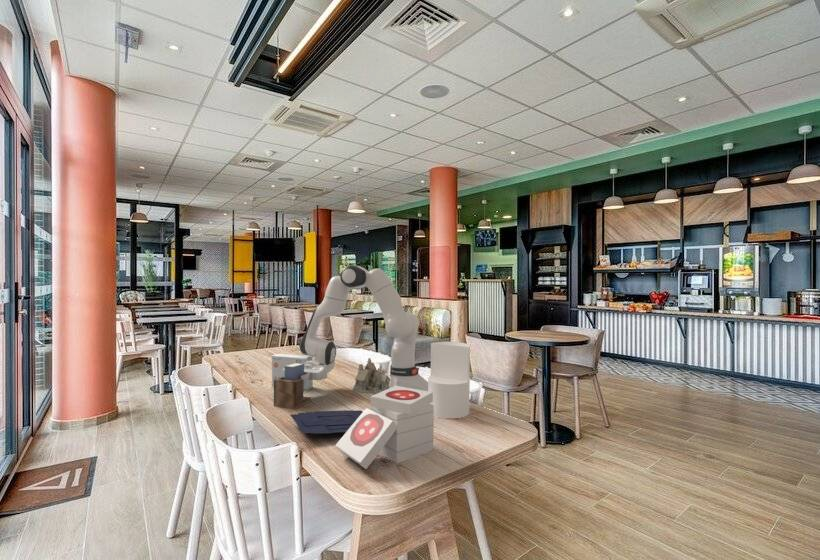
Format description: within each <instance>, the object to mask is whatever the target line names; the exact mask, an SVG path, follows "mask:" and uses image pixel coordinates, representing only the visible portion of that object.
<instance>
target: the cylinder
mask: <svg viewBox="0 0 820 560" xmlns="http://www.w3.org/2000/svg"><path fill="white" fill-rule="evenodd" d="M470 348H471V345H470V344H468V343H466V342H459V341H435V342H431V343H430V376H428V377H427V379H428V380H427V382H428V391H429V392H433V402H431V403H430V404H432V405H434V416H436V417H435V418H438V417H441V418H440V419H443V418H459V419H461V418H460V417H463V418H466V417H468V416H469V415H470V393H471V392H470V383H471V382H470V381H471V380H470V376H471V375H470V374H471V373H470V372H471V371H470V368H471V366H470V365H471V363H470V361H471V360H470V359H471V356H470V355H471V354H470V353H471V352H470V351H471V349H470ZM468 414H469V415H468ZM467 415H468V416H467ZM465 416H466V417H465Z"/></svg>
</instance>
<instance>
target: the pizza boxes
mask: <svg viewBox="0 0 820 560" xmlns="http://www.w3.org/2000/svg"><path fill="white" fill-rule="evenodd" d="M431 402H433V392H429V391H423V390H418V389H412V388H406V387H400V386H394V387H391V388H389V389H387V390H385V391H382V392H377V393H376V394H373V395H371V396H370V409H369V408H367V407H366V408H365V409H364V410H362V414H361V415H360V416H359V417H358V419H357V420H356V421H355V422H354V423H353V425H352V426H351V427H350V428H349V429H348V431H347V432H344V434H343V436H342V437H341V438H340V439H339V440H338V441H337V442H336V444H335V447H336V448H337V449H338V450H339V451H340V452H341V453H343V454H344V455H345V456H347V457H348V458H350V459H351V460H352V461H354V462H355V463H356V464H358V465H359V466H361V467H362V468H363V469H365V470H367V469H368V468H369V466H370V465H371V464H372V462H373V461H374V460H375V458H376V457H377V455H378V454H381V455H383V456H384V457H386V458H387V459H389V460H391V461H392V462H394V463H395V464H398V463H402V462H404V461H407V460H409V459H412V458H416V457H418V455H419V456H421V455H424V454H427V453H430V452H432V451H431V450H433V451H434V434H435V433H434V423H435V422H434V420H435V419H434V405H432V404H430V403H431ZM429 451H430V452H429ZM426 452H427V453H426Z"/></svg>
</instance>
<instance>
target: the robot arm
mask: <svg viewBox="0 0 820 560" xmlns="http://www.w3.org/2000/svg"><path fill="white" fill-rule="evenodd" d="M366 288H367V289H368V290H369V292H370V293H371V294H372V297H373V298H374V300H375V301H376V304H377V305H378V307H379V309H380V312H381V314H382V317H383V320H384V323H385V332H386V334H387V335H388V336H389V337H390V338H393V343H392V345H391V346H392V347H391V352H390V353H391V354H390V357H391V359H390V360H391V362H390V370H389V375H390V376H389V378H390V383H389V387H390V388H391V387H394V386H400V387H406V388H412V389H418V390H423V391H428V380H427V379H425V378H424V377H422V375H420V374H419V370H420V367H419V366H418V367H417V365H415V359H416V358H415V355H416V354H415V353H416V352H415V350H416V343H417V337H418V330H419V326H420V319H419V317H418V316H417V315H416V314H415V313H413V312H409V311H408V312H407V311H406V312H405V309H404V306H403V303H402V298H401V296H400V294H399V292H398V290H397V289H396V287H395V285H394V283H393V282H392V280H391V278H390V277H389V276H388V275H387V273H385V271H384V270H383V269H381V268H379V267H378V268H372V269H371V270H370V271H369V270H368V269H367V268H365V267H363V266H360V265H353V264H350V265H347V266H345V267H343V268H342V270H341V272H340V274H339V275H336V276H335V275H334V276H332V277H331V278H330V279H329V282H328V284H327V287H326V289H325V293H324V297H323V299H322V301H321V303H320V304H318V305H317V306H316V307H315V308H314V310H313V312H312V314H311V317H310V319H309V322H308V324H307V327H306V329H305V332H304V334H303V336H302V338H301V339H300V341H299V345H298V347H299V350H300V353H301V354H302V355H303V356H311V357H313V358H314V359H312V360H311V361H308V362H306V363H304V375H300V376H299V379H307V380H314V381H321V380H325V379H328V374H329V373H330V372H332V371H333V369H334V368H335V366H336V361H335V360H336V359H335V358H336V356H337V346H336V344H335V343H334V342H333V341H330V340H328V339H324V338H321V337H317V335H316V334H317V331H318V329H319V327H320V324H321V322H322V320H323V319H325V318H330V317H335V316H338V315H340V314H342V313H344V310H345V308H346V305H347V302H348V298H349V293H350V292H351V290H361V289H366ZM283 376H284V377H285V368H284V369H283Z"/></svg>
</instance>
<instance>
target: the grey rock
mask: <svg viewBox="0 0 820 560" xmlns="http://www.w3.org/2000/svg"><path fill="white" fill-rule="evenodd" d="M363 366H364V365H363V363H360V364H358V370H357V375H356V376H355V379H354V381H355V383H354V385H353V387H352V391H353V392H356V393H361V394H366V393H380V392H382V391H385V390H387V389H389V388H390V381H391V377H390V376H388V375H387V374H386V370H385V369H382V370H379V369H377V367H376V365H375V362H372V359H371V357H369V358H367V363H366V365H365V367H363Z"/></svg>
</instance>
